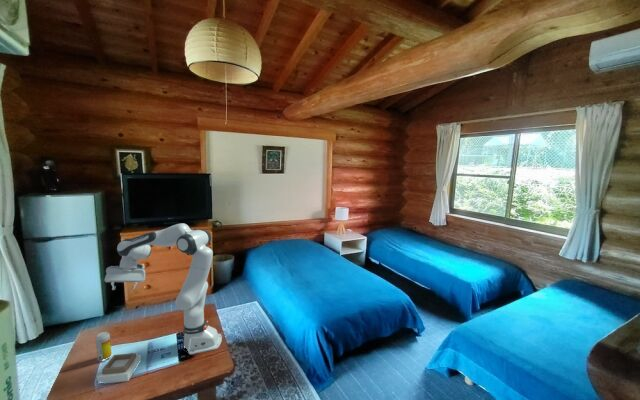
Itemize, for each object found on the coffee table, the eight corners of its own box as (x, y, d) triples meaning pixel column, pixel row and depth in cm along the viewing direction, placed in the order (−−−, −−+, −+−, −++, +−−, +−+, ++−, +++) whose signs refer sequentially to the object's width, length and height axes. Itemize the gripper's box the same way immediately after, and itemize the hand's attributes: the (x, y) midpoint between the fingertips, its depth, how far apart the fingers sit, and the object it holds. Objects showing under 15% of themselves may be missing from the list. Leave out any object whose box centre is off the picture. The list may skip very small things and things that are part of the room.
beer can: (114, 354, 158) (112, 331, 156) (106, 362, 152) (104, 338, 150) (103, 354, 158) (101, 331, 156) (95, 362, 152) (92, 338, 150)
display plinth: (141, 361, 154) (140, 350, 153) (128, 381, 140) (127, 369, 139) (113, 363, 151) (112, 353, 150) (97, 384, 138) (96, 372, 137)
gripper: (107, 264, 160) (101, 288, 154) (147, 265, 171) (143, 288, 165) (107, 267, 165) (101, 290, 158) (146, 268, 176) (142, 290, 169)
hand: (123, 289), depth 162 cm, fingers open, 8 cm apart
